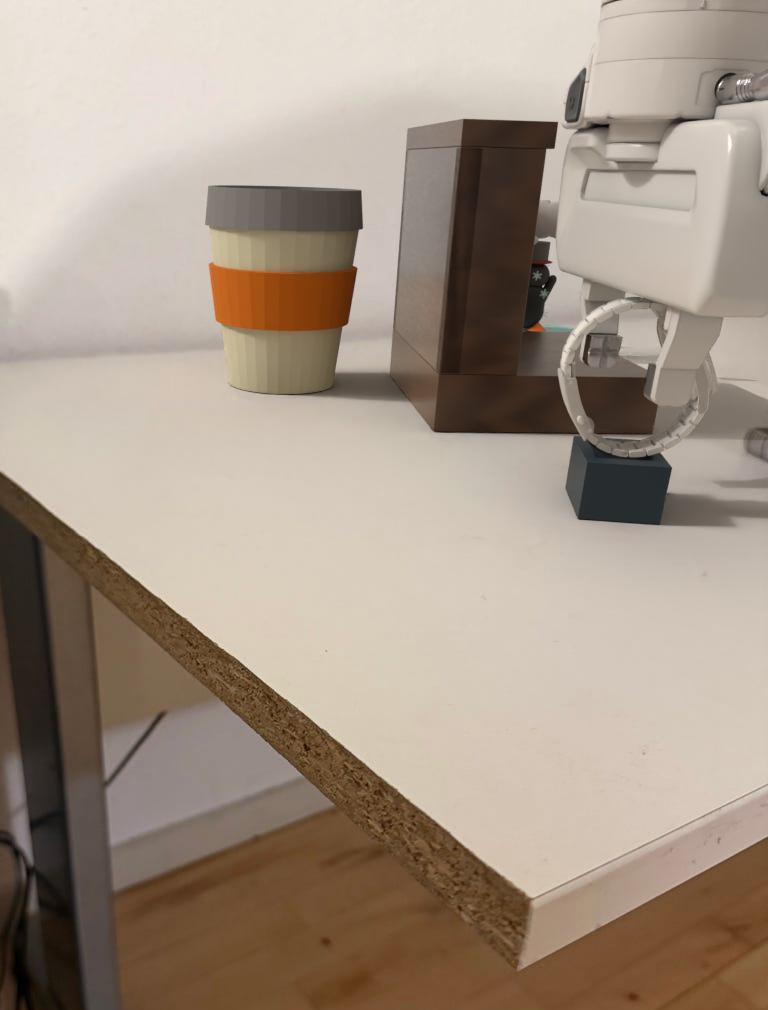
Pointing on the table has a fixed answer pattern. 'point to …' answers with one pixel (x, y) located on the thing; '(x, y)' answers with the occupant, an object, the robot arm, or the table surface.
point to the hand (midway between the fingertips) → (628, 383)
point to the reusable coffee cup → (282, 281)
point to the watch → (624, 462)
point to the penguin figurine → (542, 271)
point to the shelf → (488, 291)
